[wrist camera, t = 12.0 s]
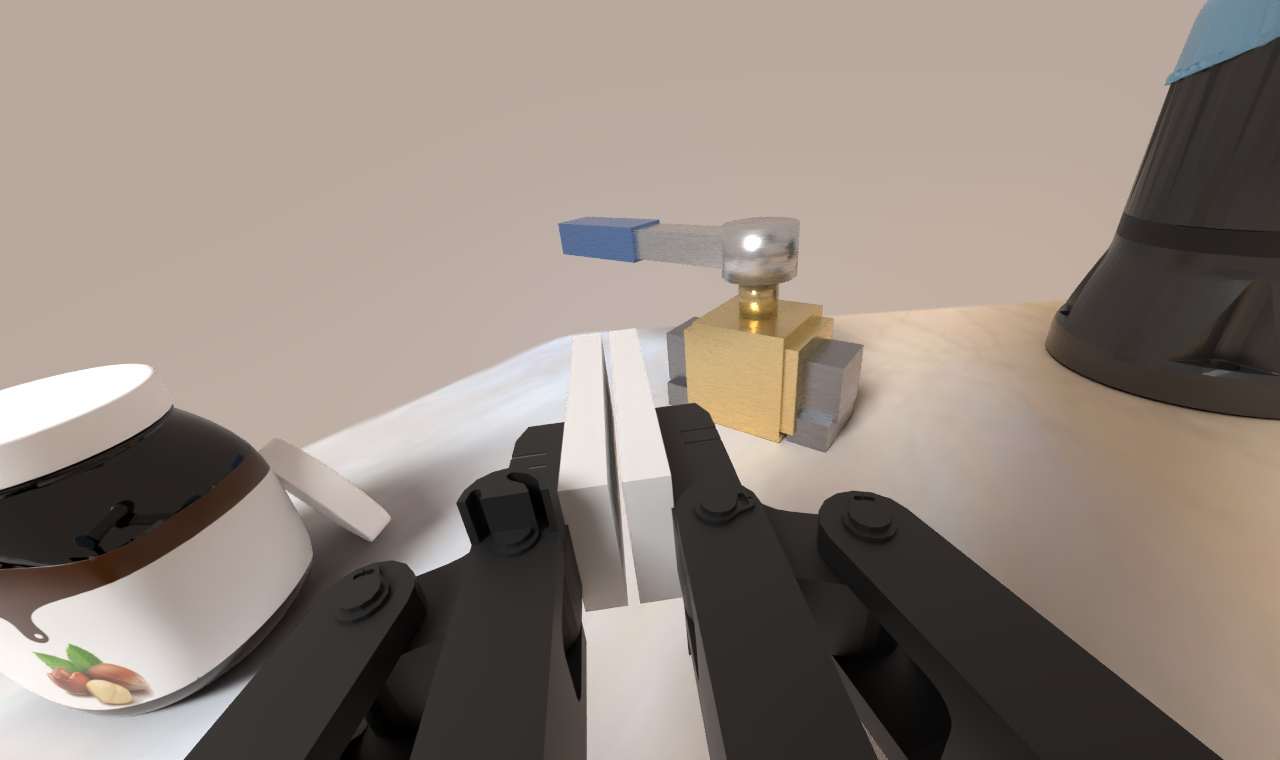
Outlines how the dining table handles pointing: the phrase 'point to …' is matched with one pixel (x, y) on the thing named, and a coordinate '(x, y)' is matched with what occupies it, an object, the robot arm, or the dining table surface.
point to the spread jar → (145, 540)
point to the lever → (693, 245)
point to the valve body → (766, 368)
